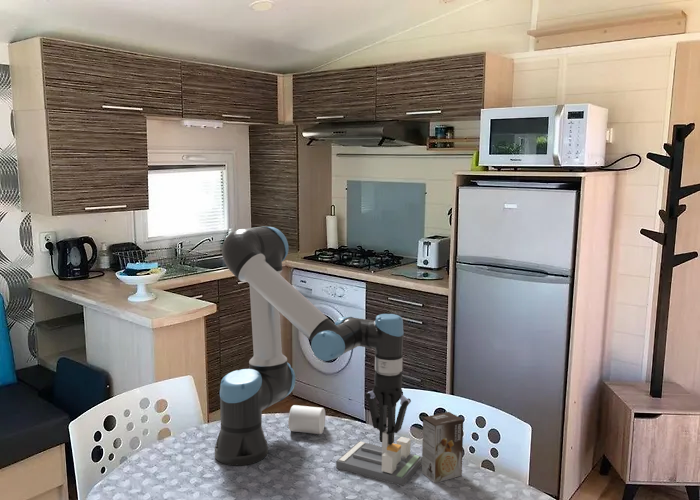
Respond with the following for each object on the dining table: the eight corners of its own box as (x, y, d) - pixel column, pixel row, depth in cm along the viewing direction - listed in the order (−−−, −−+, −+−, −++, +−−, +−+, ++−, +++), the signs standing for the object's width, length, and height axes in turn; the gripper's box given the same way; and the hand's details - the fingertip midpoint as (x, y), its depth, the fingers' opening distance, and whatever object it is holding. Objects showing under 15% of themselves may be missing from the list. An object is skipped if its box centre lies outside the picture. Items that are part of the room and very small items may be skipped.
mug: (319, 438, 180) (319, 413, 179) (288, 435, 182) (288, 410, 181) (328, 422, 191) (328, 399, 190) (299, 420, 193) (299, 396, 192)
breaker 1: (381, 470, 155) (381, 455, 155) (386, 466, 158) (386, 450, 158) (391, 473, 154) (392, 457, 154) (396, 468, 157) (396, 453, 156)
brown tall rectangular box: (448, 465, 164) (450, 410, 162) (462, 476, 158) (464, 419, 156) (420, 473, 159) (422, 416, 157) (434, 484, 154) (436, 425, 152)
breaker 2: (396, 455, 164) (396, 440, 164) (400, 451, 167) (400, 436, 166) (406, 458, 163) (406, 443, 162) (410, 453, 166) (410, 438, 165)
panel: (336, 467, 162) (336, 458, 161) (359, 447, 174) (359, 438, 174) (403, 486, 152) (403, 476, 152) (422, 463, 165) (422, 454, 164)
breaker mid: (386, 462, 160) (386, 447, 160) (390, 457, 163) (391, 442, 162) (396, 464, 159) (397, 449, 158) (400, 460, 162) (401, 445, 161)
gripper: (360, 371, 159) (359, 454, 161) (405, 379, 153) (403, 465, 155) (372, 363, 165) (371, 443, 168) (415, 371, 159) (413, 453, 162)
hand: (386, 453), depth 162 cm, fingers closed
